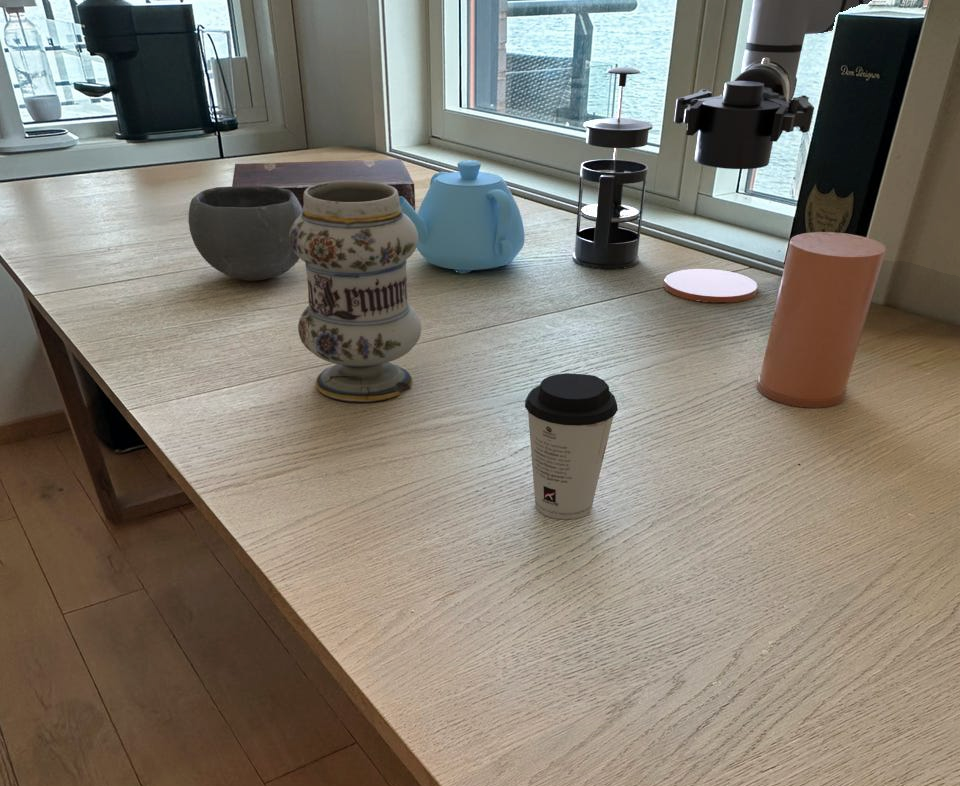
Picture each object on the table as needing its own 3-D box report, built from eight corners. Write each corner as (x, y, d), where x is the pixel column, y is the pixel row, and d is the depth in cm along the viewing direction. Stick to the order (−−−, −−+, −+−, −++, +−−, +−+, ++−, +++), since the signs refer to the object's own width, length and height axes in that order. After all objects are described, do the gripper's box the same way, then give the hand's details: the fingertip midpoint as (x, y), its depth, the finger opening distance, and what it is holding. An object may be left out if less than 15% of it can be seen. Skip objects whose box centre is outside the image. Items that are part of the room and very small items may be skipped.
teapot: (555, 270, 118) (561, 168, 110) (432, 296, 110) (428, 187, 102) (475, 238, 131) (475, 144, 123) (359, 259, 122) (351, 159, 114)
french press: (580, 247, 128) (594, 61, 113) (643, 252, 126) (665, 64, 111) (564, 269, 119) (577, 72, 104) (631, 275, 117) (654, 75, 102)
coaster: (761, 280, 116) (762, 274, 115) (750, 308, 107) (751, 301, 106) (673, 270, 119) (674, 264, 118) (655, 296, 110) (656, 290, 110)
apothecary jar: (393, 416, 82) (381, 210, 71) (283, 397, 85) (254, 197, 74) (441, 370, 91) (437, 181, 79) (339, 354, 94) (321, 171, 82)
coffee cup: (544, 535, 66) (552, 412, 59) (506, 493, 71) (509, 375, 64) (622, 516, 68) (638, 396, 62) (580, 477, 73) (590, 362, 66)
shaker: (847, 380, 89) (888, 237, 80) (843, 413, 83) (887, 261, 74) (761, 368, 92) (792, 227, 83) (751, 400, 85) (784, 251, 77)
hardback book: (236, 221, 138) (231, 187, 134) (240, 195, 152) (235, 163, 149) (415, 215, 142) (414, 181, 139) (402, 190, 156) (401, 159, 153)
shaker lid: (772, 157, 106) (787, 80, 100) (764, 171, 99) (780, 90, 94) (700, 152, 108) (712, 76, 103) (688, 165, 102) (699, 85, 96)
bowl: (302, 256, 123) (292, 178, 117) (320, 287, 112) (311, 203, 106) (195, 265, 119) (180, 185, 113) (203, 298, 108) (187, 212, 102)
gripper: (680, 60, 114) (644, 80, 98) (850, 68, 108) (841, 91, 92) (672, 125, 119) (635, 154, 103) (834, 136, 113) (823, 169, 97)
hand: (733, 124), depth 97 cm, fingers closed on shaker lid, 9 cm apart
